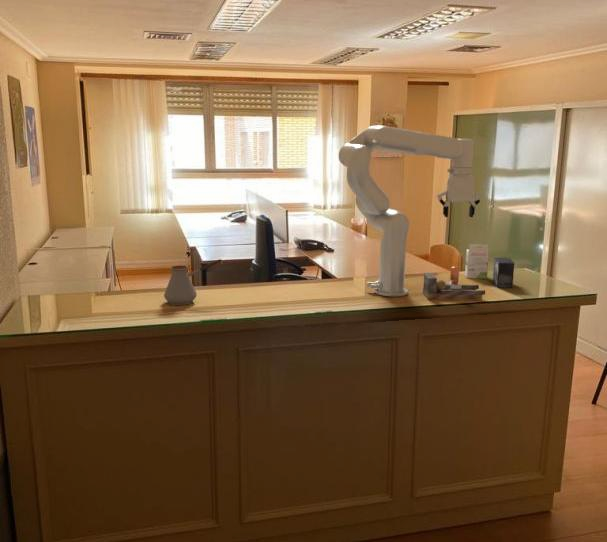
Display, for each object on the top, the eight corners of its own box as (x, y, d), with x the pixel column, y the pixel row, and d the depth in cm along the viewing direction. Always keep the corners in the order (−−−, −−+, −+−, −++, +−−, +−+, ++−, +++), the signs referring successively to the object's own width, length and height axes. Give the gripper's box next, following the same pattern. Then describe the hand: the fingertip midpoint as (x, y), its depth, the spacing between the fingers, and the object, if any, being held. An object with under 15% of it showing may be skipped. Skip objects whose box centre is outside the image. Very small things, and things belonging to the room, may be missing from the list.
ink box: (484, 276, 256) (487, 242, 252) (487, 278, 251) (489, 244, 247) (464, 275, 256) (466, 241, 253) (466, 278, 252) (468, 243, 248)
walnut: (435, 292, 221) (435, 281, 220) (432, 289, 225) (433, 278, 224) (446, 292, 221) (447, 281, 220) (444, 289, 225) (444, 278, 224)
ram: (450, 292, 220) (451, 268, 218) (446, 288, 226) (447, 265, 224) (460, 292, 220) (462, 269, 218) (456, 288, 226) (458, 265, 224)
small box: (491, 281, 247) (493, 256, 244) (507, 282, 246) (510, 257, 243) (496, 288, 236) (498, 262, 234) (513, 288, 235) (515, 262, 233)
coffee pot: (165, 308, 206) (163, 265, 203) (163, 299, 217) (161, 259, 213) (226, 303, 212) (225, 262, 209) (221, 295, 223) (220, 255, 220)
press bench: (427, 299, 219) (428, 278, 217) (422, 293, 227) (423, 272, 226) (484, 300, 219) (486, 278, 217) (477, 293, 228) (479, 273, 226)
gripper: (440, 172, 222) (438, 218, 226) (487, 172, 222) (483, 218, 226) (436, 171, 229) (433, 215, 233) (481, 171, 229) (477, 215, 233)
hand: (458, 216), depth 229 cm, fingers open, 9 cm apart
